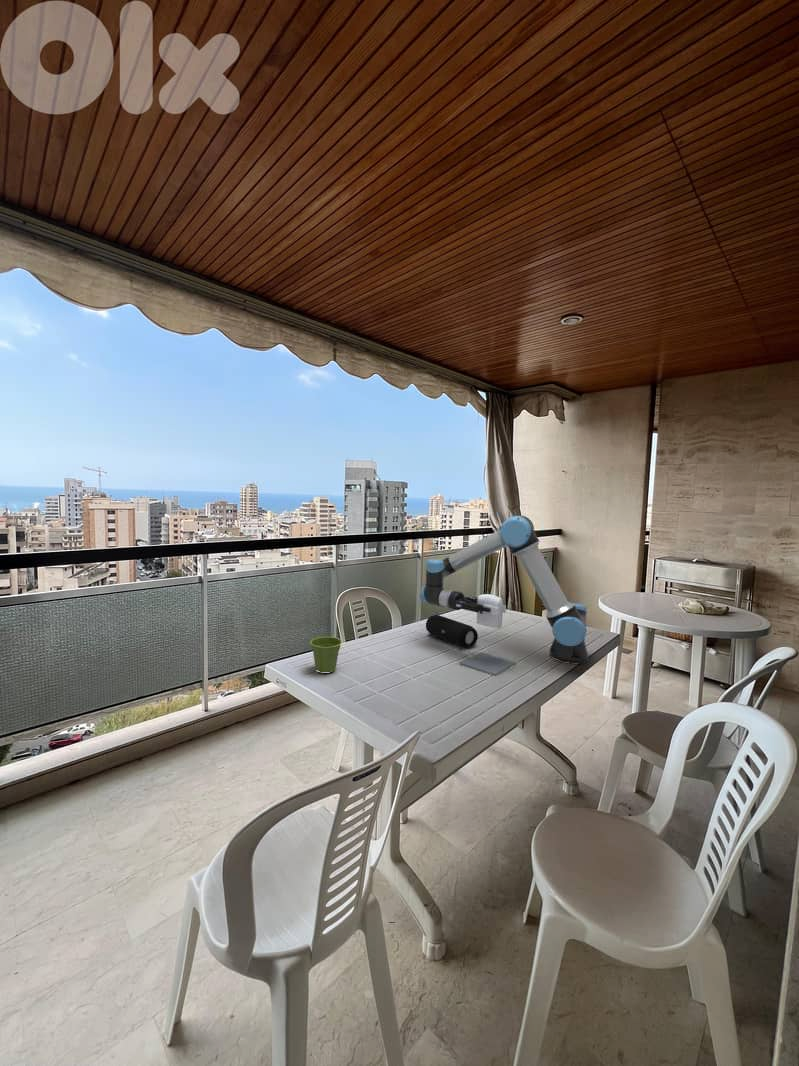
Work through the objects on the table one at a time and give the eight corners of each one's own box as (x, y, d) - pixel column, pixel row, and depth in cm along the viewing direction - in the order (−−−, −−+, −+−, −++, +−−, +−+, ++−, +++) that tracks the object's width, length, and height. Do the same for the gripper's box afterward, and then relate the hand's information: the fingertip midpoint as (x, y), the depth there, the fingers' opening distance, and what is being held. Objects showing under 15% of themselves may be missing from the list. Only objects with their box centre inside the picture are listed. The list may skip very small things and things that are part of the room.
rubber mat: (515, 664, 173) (515, 662, 173) (495, 676, 162) (495, 674, 162) (481, 654, 184) (481, 652, 184) (459, 664, 172) (459, 662, 172)
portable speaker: (424, 635, 207) (424, 615, 206) (439, 632, 213) (439, 612, 212) (463, 651, 187) (464, 629, 186) (478, 647, 193) (479, 625, 192)
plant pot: (325, 680, 155) (325, 649, 154) (303, 671, 162) (303, 642, 161) (348, 670, 165) (348, 640, 164) (326, 662, 172) (326, 634, 171)
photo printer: (503, 627, 170) (504, 595, 169) (498, 629, 167) (499, 597, 166) (480, 622, 176) (481, 592, 175) (474, 624, 173) (475, 593, 172)
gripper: (463, 604, 190) (512, 615, 174) (439, 612, 177) (489, 624, 161) (464, 587, 189) (513, 597, 173) (440, 594, 176) (490, 604, 161)
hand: (502, 610), depth 167 cm, fingers closed on photo printer, 4 cm apart
